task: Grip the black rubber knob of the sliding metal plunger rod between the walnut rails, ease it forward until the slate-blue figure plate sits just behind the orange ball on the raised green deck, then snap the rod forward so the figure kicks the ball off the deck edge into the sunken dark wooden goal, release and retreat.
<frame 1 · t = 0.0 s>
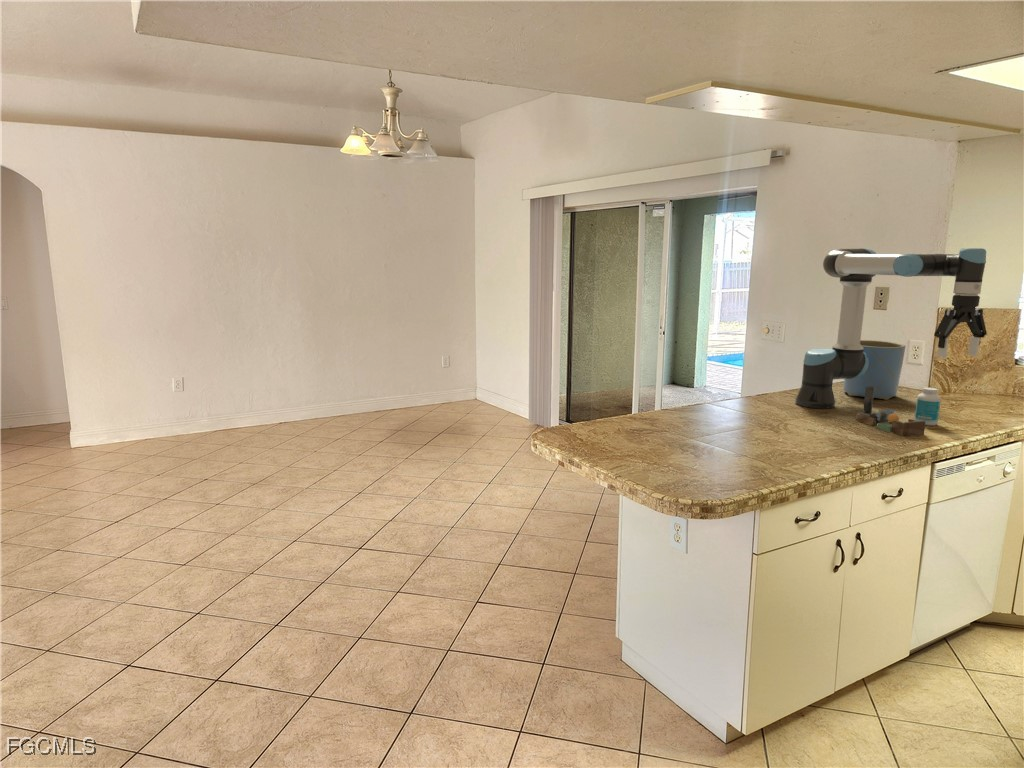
hand: (957, 356, 216), 28 cm above the counter, fingers open, 13 cm apart
guide: (871, 422, 238), on the counter
ball: (893, 418, 228), point 4 cm above the counter, touching deck
planter: (869, 395, 283), on the counter
pill bottle: (925, 424, 236), on the counter
goal: (907, 433, 222), on the counter
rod: (875, 405, 235), point 7 cm above the counter, slide at 0.0 cm
deck: (894, 429, 228), on the counter
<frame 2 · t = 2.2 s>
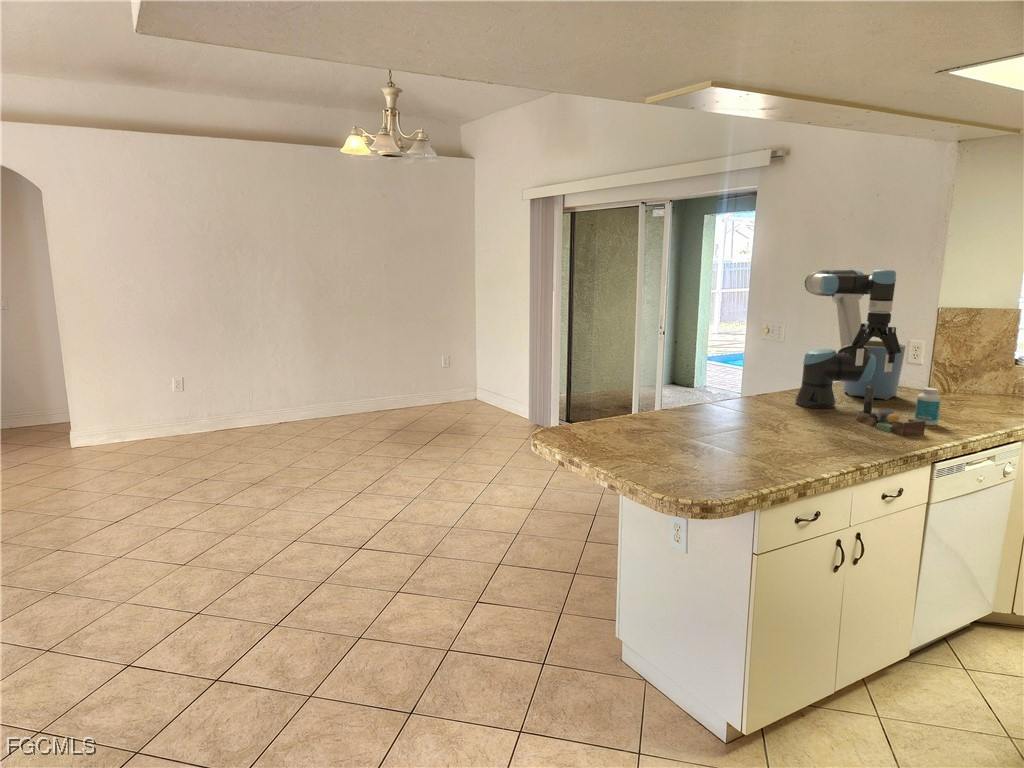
hand: (872, 368, 236), 20 cm above the counter, fingers open, 13 cm apart
nothing on the counter moved.
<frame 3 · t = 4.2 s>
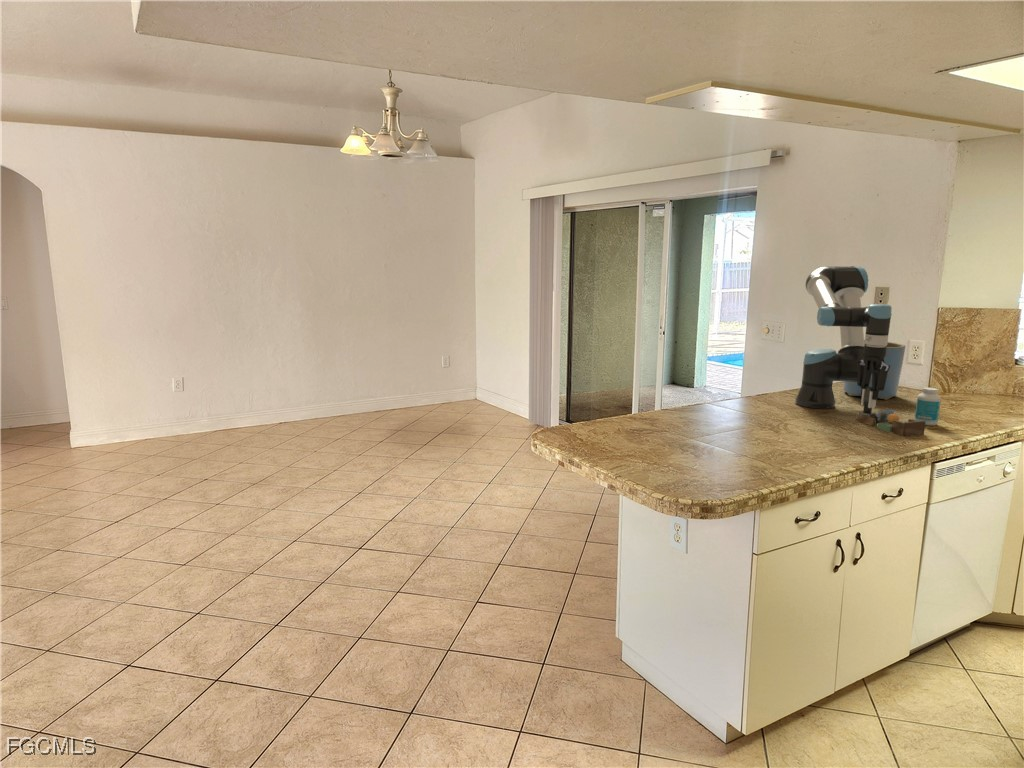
hand: (868, 406, 239), 6 cm above the counter, fingers closed on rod, 3 cm apart
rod: (875, 405, 235), point 7 cm above the counter, slide at 0.0 cm, touching gripper
everything else where it was.
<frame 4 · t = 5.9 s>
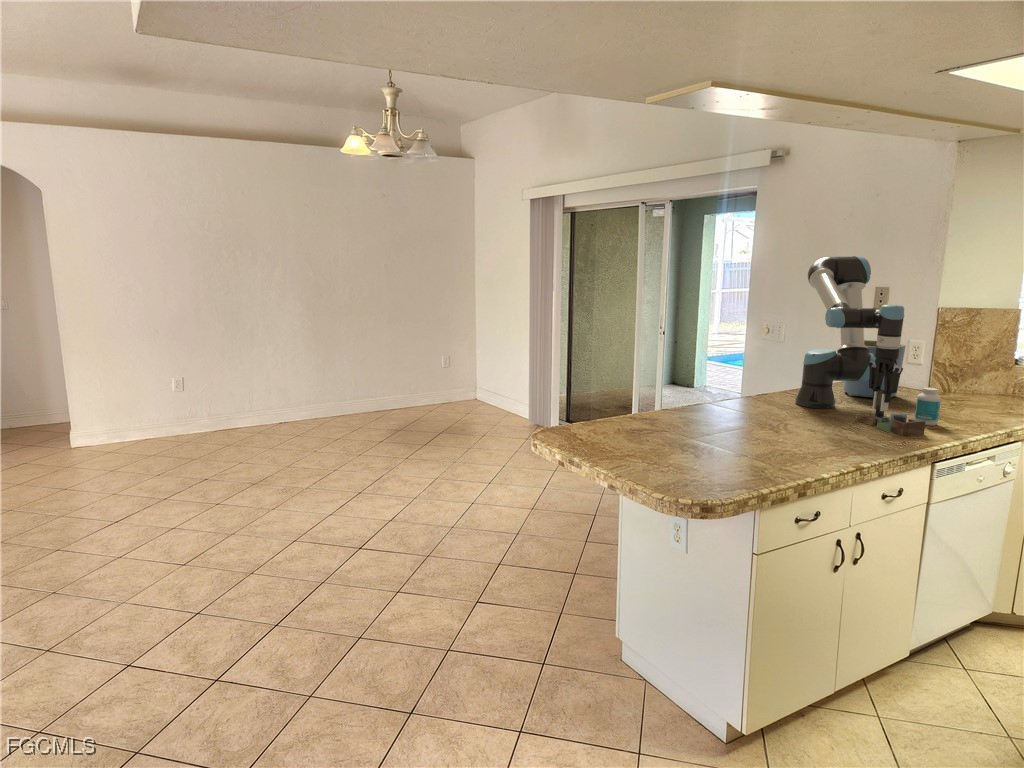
hand: (880, 409, 233), 6 cm above the counter, fingers closed on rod, 3 cm apart
ball: (908, 428, 222), point 2 cm above the counter, tilted 128°
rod: (888, 409, 230), point 7 cm above the counter, slide at 5.7 cm, touching gripper
everything else where it was.
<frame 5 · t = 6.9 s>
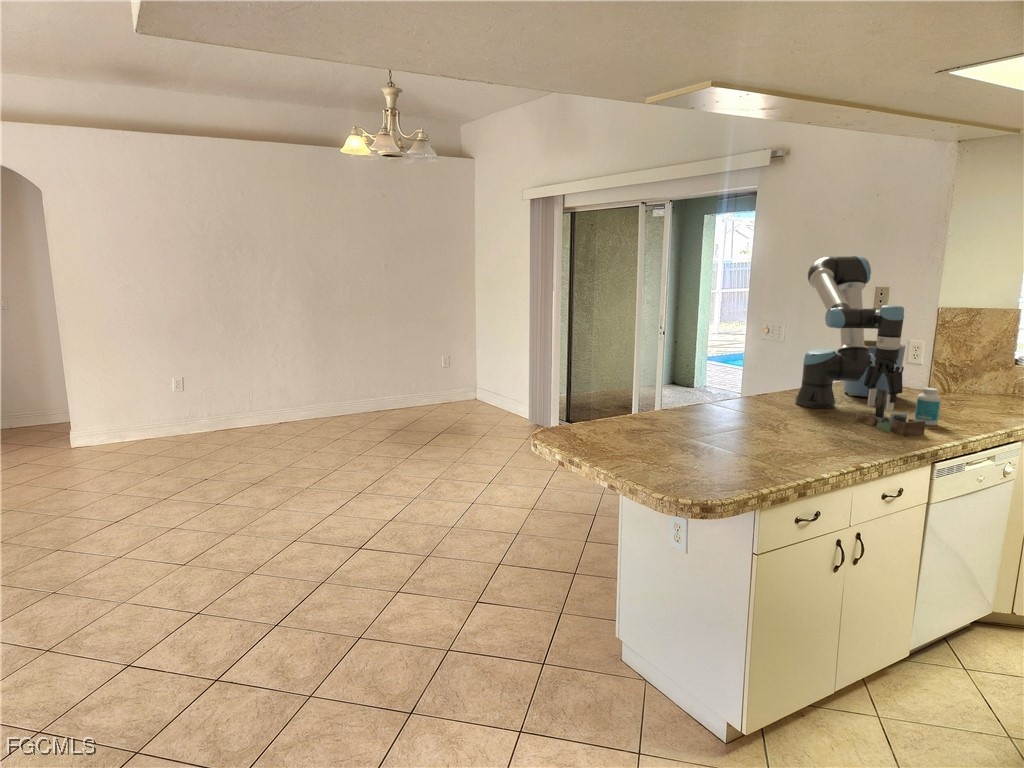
hand: (879, 408, 233), 6 cm above the counter, fingers open, 8 cm apart
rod: (888, 409, 230), point 7 cm above the counter, slide at 5.7 cm
everything else where it was.
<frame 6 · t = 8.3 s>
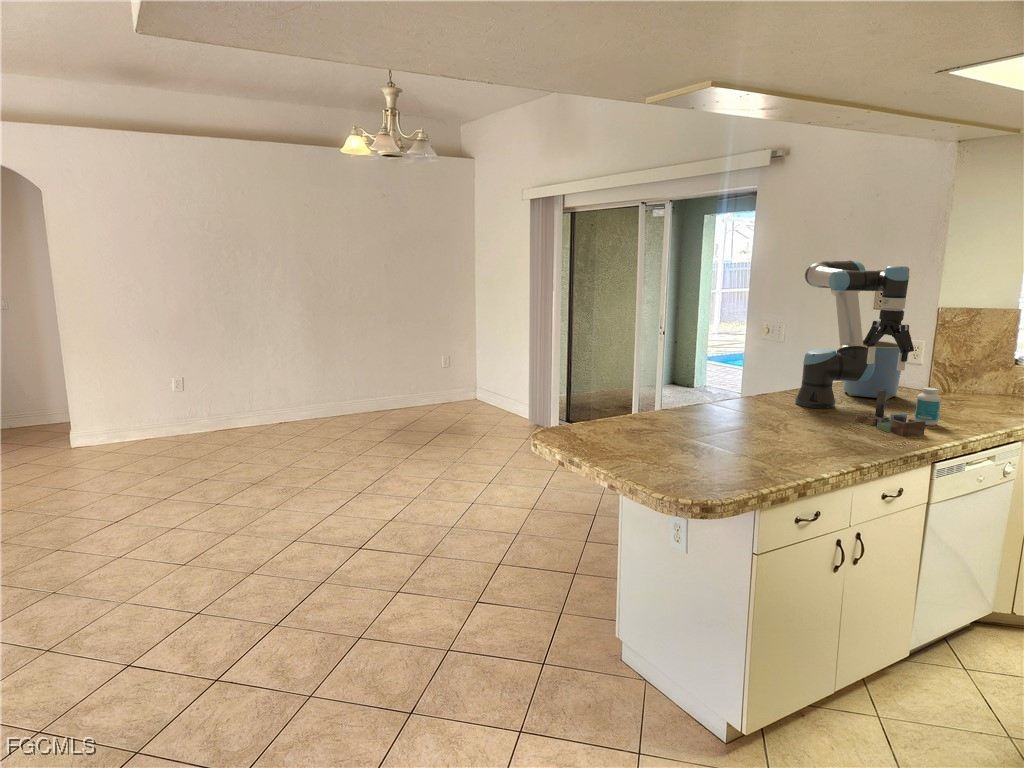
hand: (884, 367, 231), 22 cm above the counter, fingers open, 13 cm apart
nothing on the counter moved.
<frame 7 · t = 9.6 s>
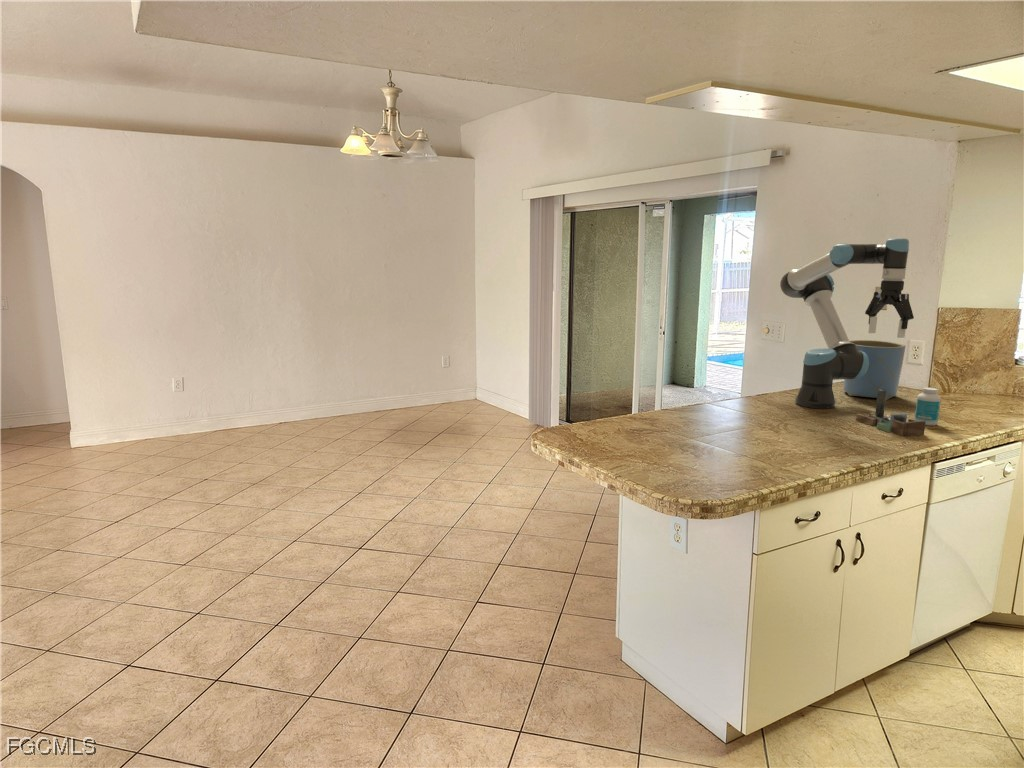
hand: (885, 335, 242), 32 cm above the counter, fingers open, 13 cm apart
nothing on the counter moved.
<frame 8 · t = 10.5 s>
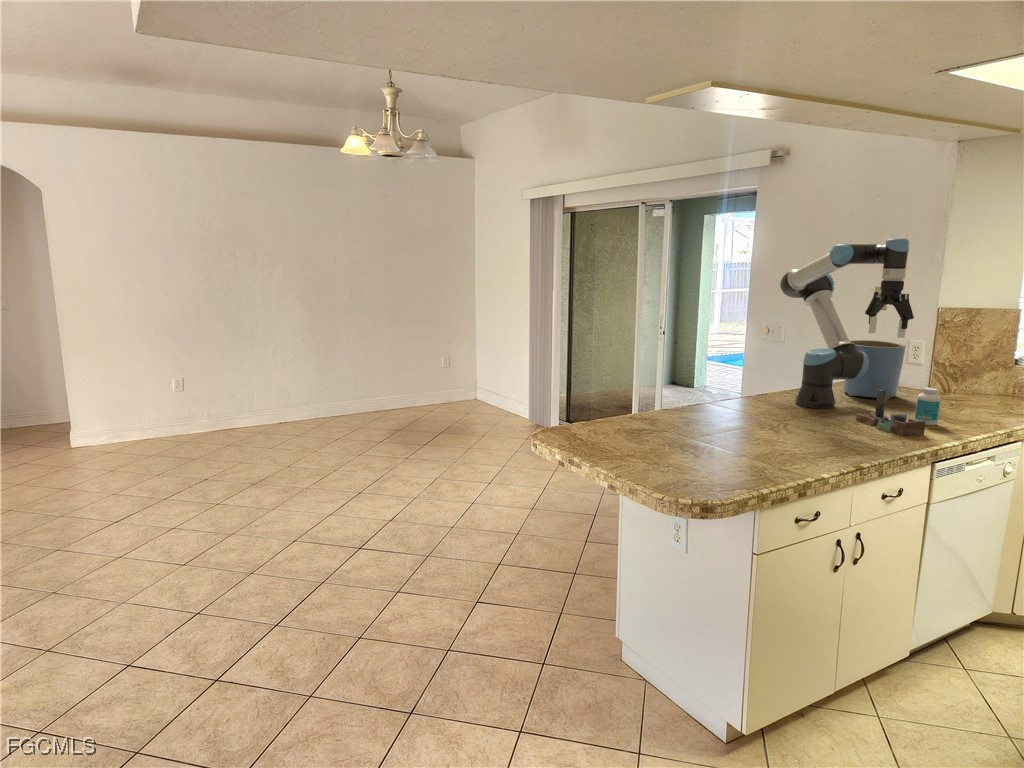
hand: (885, 335, 242), 32 cm above the counter, fingers open, 13 cm apart
nothing on the counter moved.
at the end: ball 0.7 cm off-centre on the goal, point 1.8 cm above the goal's base; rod slide at 5.7 cm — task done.
